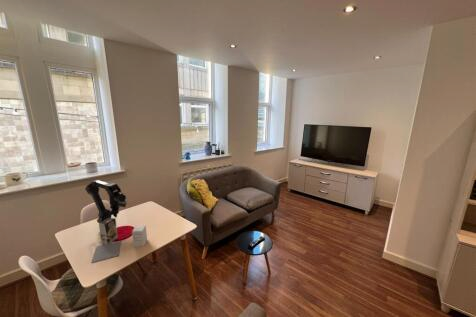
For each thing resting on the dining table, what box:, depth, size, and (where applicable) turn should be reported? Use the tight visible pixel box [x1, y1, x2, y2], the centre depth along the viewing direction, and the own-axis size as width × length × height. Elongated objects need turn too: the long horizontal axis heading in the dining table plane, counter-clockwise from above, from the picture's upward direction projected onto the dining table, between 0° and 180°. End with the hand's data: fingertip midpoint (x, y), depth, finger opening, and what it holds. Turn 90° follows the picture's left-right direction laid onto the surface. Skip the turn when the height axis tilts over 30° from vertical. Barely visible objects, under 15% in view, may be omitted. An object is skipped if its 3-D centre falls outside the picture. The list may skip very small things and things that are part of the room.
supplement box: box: [131, 225, 148, 247], centre depth 144 cm, size 7×7×13 cm
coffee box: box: [98, 217, 119, 245], centre depth 146 cm, size 9×6×16 cm
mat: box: [91, 240, 122, 264], centre depth 136 cm, size 17×15×1 cm
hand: (116, 217), depth 157 cm, fingers closed
